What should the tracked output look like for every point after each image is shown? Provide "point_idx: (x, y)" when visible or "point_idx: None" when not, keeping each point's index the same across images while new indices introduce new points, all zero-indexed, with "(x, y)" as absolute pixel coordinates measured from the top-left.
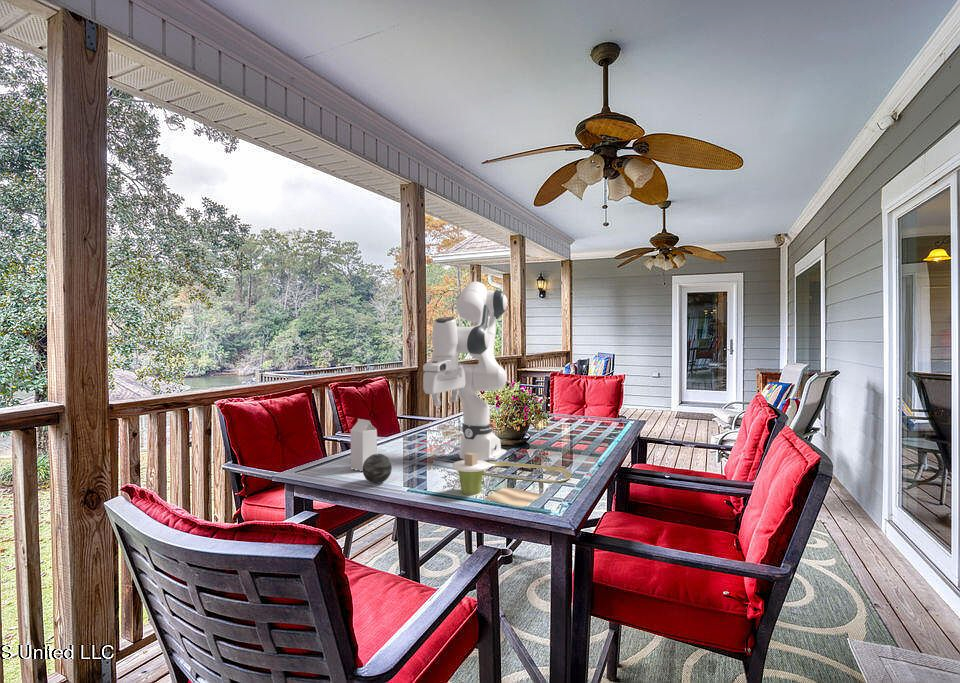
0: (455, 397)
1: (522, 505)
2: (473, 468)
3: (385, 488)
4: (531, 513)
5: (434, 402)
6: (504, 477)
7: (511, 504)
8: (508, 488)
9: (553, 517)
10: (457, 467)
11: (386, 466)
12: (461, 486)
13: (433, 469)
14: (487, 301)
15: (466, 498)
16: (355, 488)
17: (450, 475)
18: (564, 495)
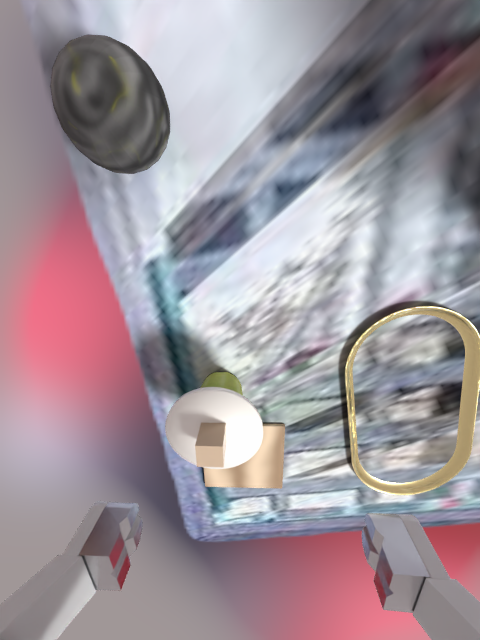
0: (403, 606)
1: (212, 483)
2: (187, 453)
3: (122, 199)
4: (200, 496)
5: (76, 534)
6: (346, 398)
7: (206, 470)
8: (279, 435)
9: (205, 520)
10: (169, 421)
11: (114, 166)
12: (200, 387)
13: (343, 186)
14: None
15: None
16: None
17: (312, 273)
18: (303, 506)
